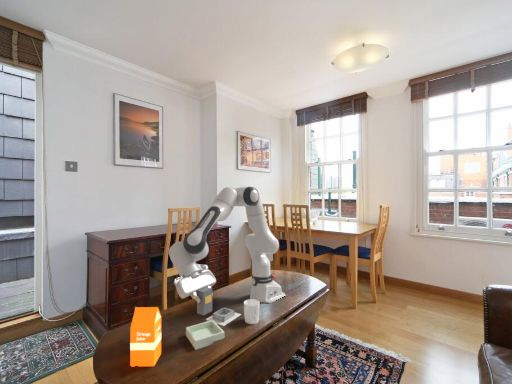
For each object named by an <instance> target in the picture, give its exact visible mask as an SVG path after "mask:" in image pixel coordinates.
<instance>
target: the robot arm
mask: <svg viewBox="0 0 512 384" xmlns="http://www.w3.org/2000/svg"><path fill="white" fill-rule="evenodd" d="M235 207H244V208H245V214H246V219H247V223H248V227H249V229H250V230H251V232H252V233H249V234H247V235H246V236H245V239H244V244H245V247H246V248H247V250H248V252H249V254H250V255H249V256H250V259H251V266H252V270H251V271H252V272H251V273H252V274H251V290H250V296H249V299H255V300H258V301H259V302H260V303H266V304H272V303H275V302H276V300H277V301H279V300H281V299H283V298H282V297H284V296H286V293H285V292H283V291H282V286H281V285H280V284H279V283H277V281H275V279H276V277H277V275H276V274H275V275H274V274H271V261H270V260H269V258H268V256H267V255H274V254H275V253H277V252H278V250H279V247H280V242H279V240H278V239H277V238H276V237H275V236H274V234H273V232H272V231H271V229H270V227H269V225H268V223H267V222H268V221H267V219H266V212H265V208H264V205H263V202H262V200H261V198H260V193H259V191H258V189H257V188H255V187H254V186H240V187H235V188H232V187H229V186H225V187H223V189H221V190H220V191H219V193H218V194H217V195H216V197H215V199H214V200H213V202H212V203H211V205H210V207H209V208H208V209H207V210H206V212H204V214H203V216H202V217H201V219H200V220H199V221H198V223H197V224H196V226H195V227H194V228H193V229H192V230H190V231H189V232H188V233H187V234H186V235H185V236H184V238H183V241H176V242H174V243H173V244H172V245H171V246H170V247H169V250H168V256H169V258H170V261H171V262H172V264H173V266H174V268H176V269H177V273H178V275H179V277H175V278H174V279H173V284H174V286H175V288H176V289H175V290H176V292H177V294H178V296H179V298H180V299H182V300H183V299H185V298H187V297H191V298H192V299H194V300H195V301H196V304H197V303H199V302H201V301H202V299H201V297H198V296H197V290H200V289H202V288H204V287H209V288H212V287H213V286H215V284H216V283H217V279H216V277H215V275H214V274H213V272H212V271H211V270H210V269H209V265H208V264H199V263H197V262H199V261H201V260H203V259H204V258H206V257H207V256H208V254H209V251H210V248H209V245H208V243H207V237H208V236H207V235H208V234H209V232H210V231H211V229H212V228H213V226H214V225H215V223H216V222H224V221H226V220H227V219H228V217H230V215H231V213H232V211H233V210H234V208H235ZM213 296H214V293H213V292H212V297H213ZM286 297H287V296H286ZM280 298H281V299H280ZM284 298H285V297H284ZM278 299H279V300H278Z"/></svg>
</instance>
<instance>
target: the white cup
mask: <svg viewBox="0 0 512 384" xmlns="http://www.w3.org/2000/svg"><path fill="white" fill-rule="evenodd" d="M260 303H261V302H259V301H258V300H255V299H250V298H249V299H246V300H244V301H243V312H244V315H243V316H244V322H245V323H246V324H249V325H255V324H257V323H259V319H260V307H261V306H260Z"/></svg>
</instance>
